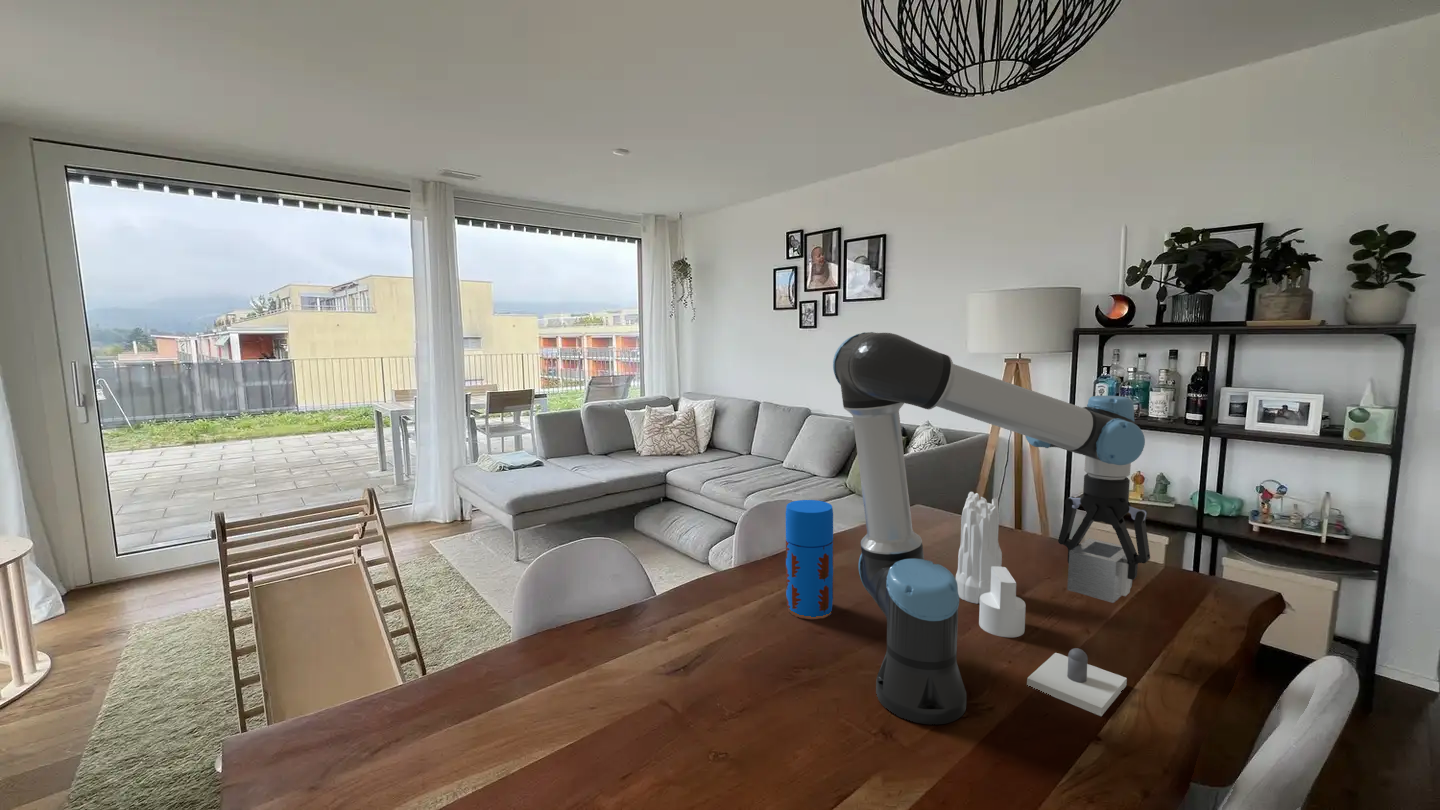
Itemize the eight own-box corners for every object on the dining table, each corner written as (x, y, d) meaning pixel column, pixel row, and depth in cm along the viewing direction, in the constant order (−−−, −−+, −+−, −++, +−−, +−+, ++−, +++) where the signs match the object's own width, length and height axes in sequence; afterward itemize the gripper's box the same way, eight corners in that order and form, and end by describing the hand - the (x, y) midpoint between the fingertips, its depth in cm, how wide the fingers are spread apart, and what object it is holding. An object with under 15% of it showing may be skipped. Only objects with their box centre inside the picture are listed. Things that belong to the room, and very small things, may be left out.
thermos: (831, 600, 146) (831, 499, 143) (835, 620, 136) (835, 513, 133) (786, 599, 147) (785, 499, 144) (786, 619, 137) (785, 512, 134)
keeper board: (1101, 716, 101) (1103, 677, 100) (1026, 685, 110) (1028, 649, 109) (1126, 685, 109) (1128, 649, 108) (1055, 659, 118) (1056, 625, 117)
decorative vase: (1010, 604, 142) (1014, 501, 139) (965, 605, 142) (968, 501, 139) (991, 585, 153) (994, 489, 150) (948, 585, 153) (951, 489, 150)
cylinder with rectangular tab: (1030, 639, 126) (1032, 584, 125) (984, 635, 128) (985, 581, 126) (1017, 619, 135) (1019, 567, 133) (975, 616, 137) (976, 565, 135)
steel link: (1113, 603, 114) (1116, 562, 113) (1067, 589, 120) (1069, 550, 119) (1131, 586, 121) (1134, 548, 120) (1087, 575, 127) (1089, 538, 126)
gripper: (1177, 481, 112) (1168, 597, 115) (1056, 464, 128) (1051, 567, 130) (1166, 488, 107) (1157, 610, 110) (1042, 469, 123) (1037, 576, 126)
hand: (1100, 586), depth 120 cm, fingers closed on steel link, 8 cm apart
